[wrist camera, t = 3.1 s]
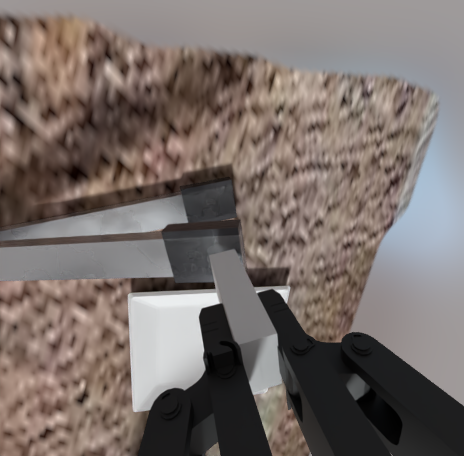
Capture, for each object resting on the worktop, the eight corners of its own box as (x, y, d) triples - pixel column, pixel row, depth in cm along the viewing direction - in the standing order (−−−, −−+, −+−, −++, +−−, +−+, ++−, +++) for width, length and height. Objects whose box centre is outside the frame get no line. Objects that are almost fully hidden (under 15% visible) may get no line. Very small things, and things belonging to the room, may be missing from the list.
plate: (263, 381, 42) (267, 394, 40) (134, 399, 37) (132, 414, 35) (284, 277, 35) (291, 286, 33) (129, 283, 30) (127, 294, 28)
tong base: (-173, 301, 24) (-207, 320, 22) (-211, 263, 22) (-251, 279, 20) (234, 213, 29) (239, 221, 27) (228, 176, 28) (234, 182, 25)
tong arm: (-41, 278, 24) (-55, 287, 23) (-68, 239, 23) (-85, 246, 21) (247, 271, 19) (245, 281, 18) (240, 219, 17) (237, 227, 16)
